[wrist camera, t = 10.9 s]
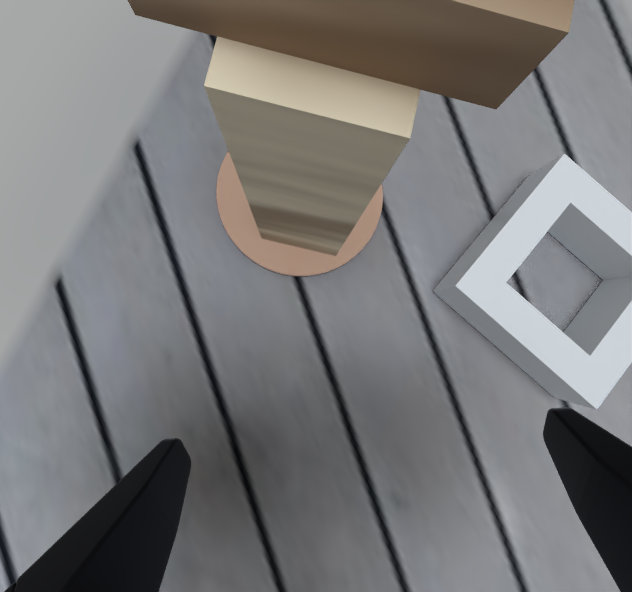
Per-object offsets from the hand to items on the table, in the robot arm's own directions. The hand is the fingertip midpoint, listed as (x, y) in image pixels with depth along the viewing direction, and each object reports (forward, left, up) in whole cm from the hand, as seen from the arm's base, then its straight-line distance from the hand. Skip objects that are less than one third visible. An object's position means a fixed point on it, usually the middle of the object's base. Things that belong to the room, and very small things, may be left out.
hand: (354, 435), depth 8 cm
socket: (+13, -7, -12) cm, 19 cm away
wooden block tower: (+7, +7, -11) cm, 15 cm away
